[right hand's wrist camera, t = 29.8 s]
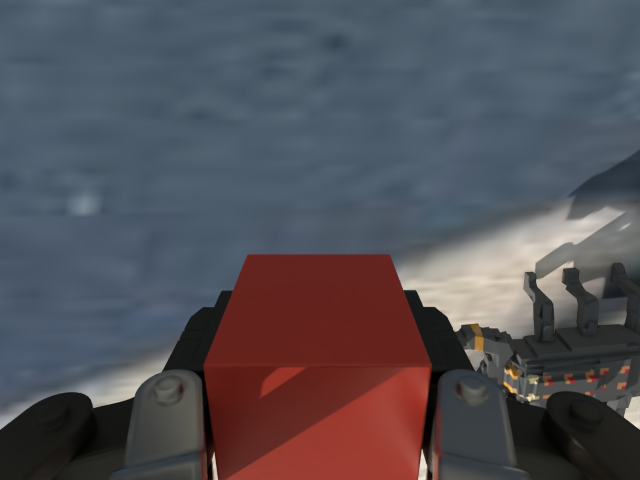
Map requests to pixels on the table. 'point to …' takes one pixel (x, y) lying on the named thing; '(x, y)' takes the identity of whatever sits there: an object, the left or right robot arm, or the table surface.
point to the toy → (565, 349)
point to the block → (317, 372)
